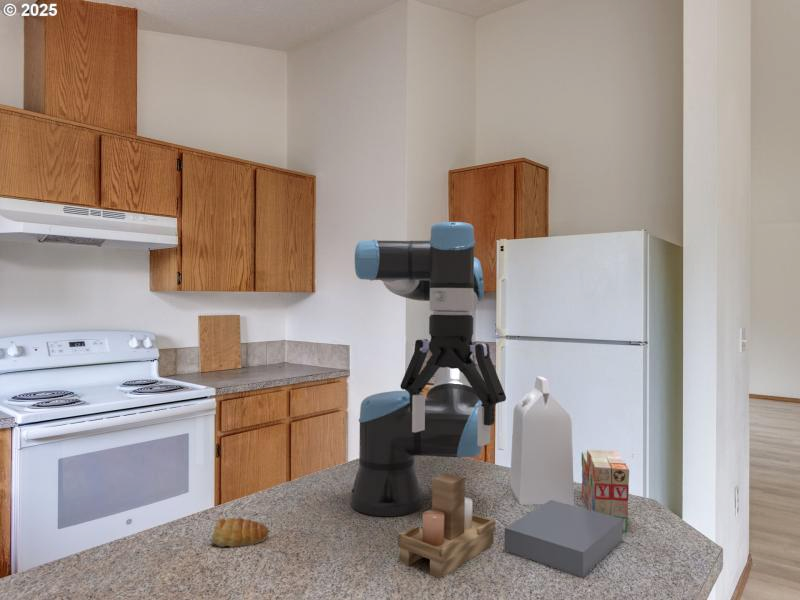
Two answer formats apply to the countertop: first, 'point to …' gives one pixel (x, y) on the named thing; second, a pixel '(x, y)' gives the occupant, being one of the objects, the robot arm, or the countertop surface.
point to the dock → (564, 536)
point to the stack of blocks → (606, 483)
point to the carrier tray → (448, 547)
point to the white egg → (468, 513)
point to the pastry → (238, 532)
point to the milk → (541, 449)
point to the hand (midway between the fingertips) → (449, 437)
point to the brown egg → (433, 527)
